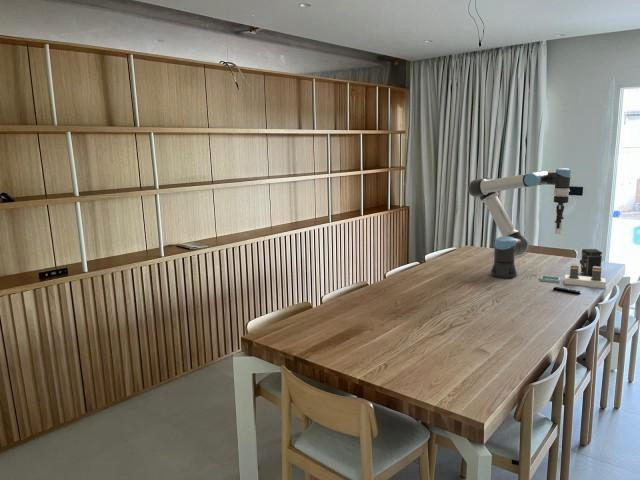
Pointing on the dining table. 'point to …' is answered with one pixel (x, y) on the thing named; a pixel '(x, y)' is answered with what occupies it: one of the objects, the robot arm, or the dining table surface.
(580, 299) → the dining table surface
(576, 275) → the plug
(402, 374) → the dining table surface
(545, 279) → the tray
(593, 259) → the camera
